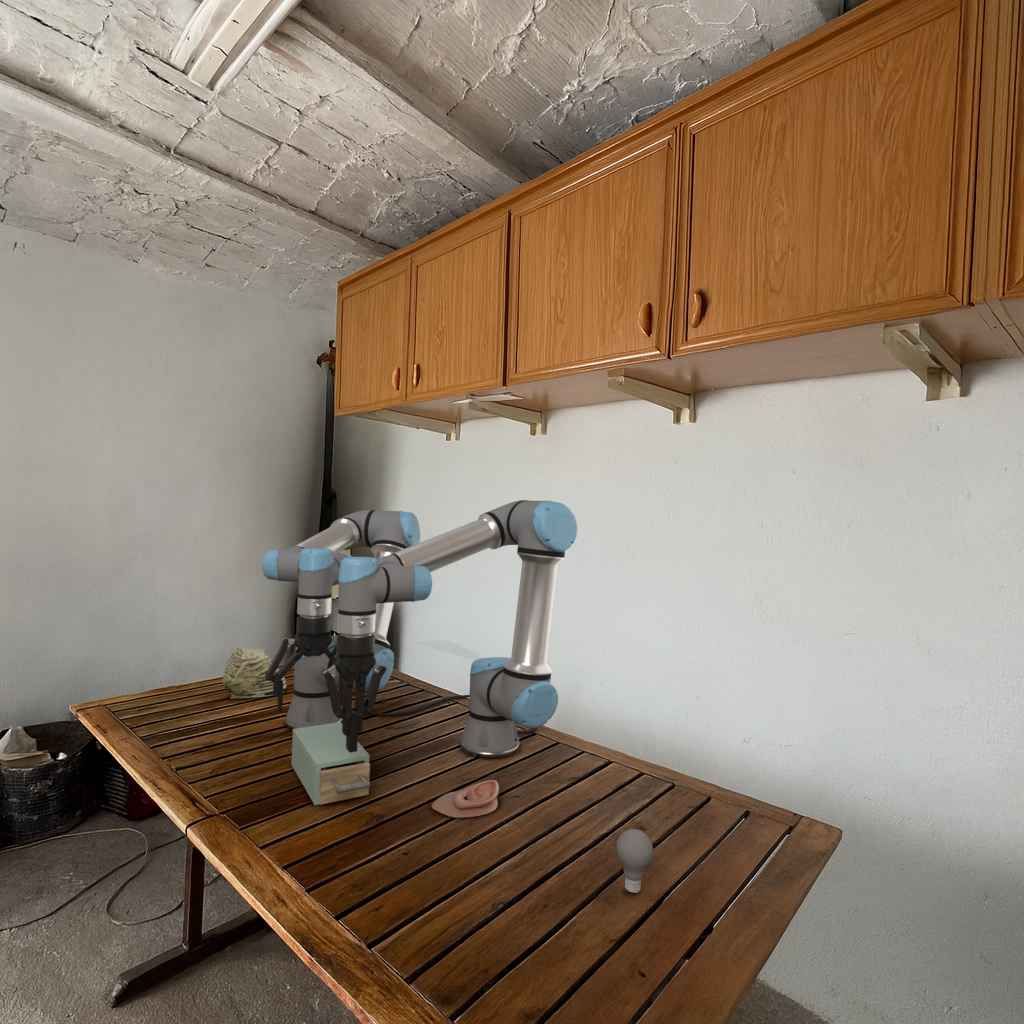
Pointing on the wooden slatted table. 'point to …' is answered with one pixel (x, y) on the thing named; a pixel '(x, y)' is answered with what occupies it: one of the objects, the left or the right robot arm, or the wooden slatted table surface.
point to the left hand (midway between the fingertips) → (310, 707)
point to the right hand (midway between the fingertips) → (351, 749)
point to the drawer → (344, 782)
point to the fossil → (249, 674)
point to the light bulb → (634, 857)
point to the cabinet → (321, 754)
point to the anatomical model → (469, 800)
